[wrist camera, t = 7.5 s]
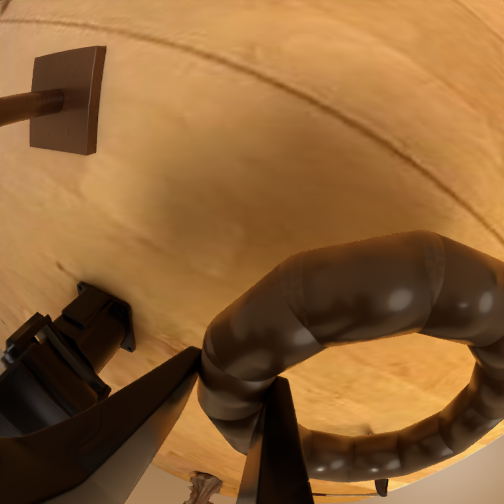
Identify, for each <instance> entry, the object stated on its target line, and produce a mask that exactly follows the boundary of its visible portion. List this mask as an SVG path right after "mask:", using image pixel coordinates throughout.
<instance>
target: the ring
mask: <svg viewBox="0 0 504 504" xmlns="http://www.w3.org/2000/svg"><path fill="white" fill-rule="evenodd" d="M411 333H419V334H423V335H427V336H432V337H436V338H440V339H444V340H448V341H453V342H457V343H461V344H466V345H467V346H468V348H469V349H470V351H471V353H472V354H473V356H474V358H475V359H476V362H475V366H474V370H473V373H472V376H471V380H470V383H469V384H468V385H467V386H466V387H465V388H464V389H463V390H462V391H461V392H460V393H459V394H458V395H457V396H456V397H455V398H454V399H453V400H452V401H451V402H450V403H449V404H448V405H447V406H446V407H445V408H444V409H443V410H442V411H440V412H438V413H436V414H434V415H432V416H430V417H428V418H426V419H424V420H422V421H420V422H418V423H415V424H413V425H411V426H409V427H406V428H404V429H402V430H399V431H393V432H387V433H380V434H373V435H365V436H356V437H349V436H343V435H336V434H331V433H325V432H319V431H314V430H309V429H307V428H305V427H303V426H301V425H300V424H298V428H299V433H300V438H301V443H302V447H303V452H304V457H305V462H306V467H307V472H308V477H309V478H311V479H318V480H326V481H334V482H359V481H369V480H378V479H385V478H392V477H398V476H404V475H408V474H411V473H414V472H416V471H419V470H422V469H424V468H427V467H430V466H432V465H435V464H437V463H440V462H442V461H444V460H447V459H449V458H451V457H453V456H456V455H458V454H460V453H462V452H463V451H465V450H466V449H467V448H469V447H470V446H471V445H473V444H474V443H475V442H477V441H478V440H479V439H480V438H482V437H483V436H484V435H485V434H487V433H488V432H489V431H490V430H491V429H493V428H494V427H495V426H496V425H497V424H498V423H499V422H501V421H502V420H503V419H504V262H503V261H500V260H498V259H496V258H494V257H491V256H489V255H487V254H485V253H482V252H480V251H478V250H475V249H473V248H471V247H468V246H466V245H464V244H461V243H459V242H456V241H454V240H451V239H449V238H446V237H444V236H441V235H439V234H436V233H433V232H430V231H425V230H413V231H407V232H402V233H396V234H391V235H386V236H381V237H376V238H371V239H366V240H360V241H355V242H350V243H345V244H340V245H334V246H329V247H324V248H319V249H313V250H308V251H303V252H299V253H297V254H294V255H292V256H290V257H288V258H287V259H285V260H284V261H283V262H281V263H280V264H279V265H278V266H277V267H275V268H274V269H273V270H272V271H271V272H269V273H268V274H267V275H266V276H265V277H263V278H262V279H261V280H260V281H258V282H257V283H256V284H255V285H254V286H252V287H251V288H250V289H249V290H248V291H246V292H245V293H244V294H243V295H241V296H240V297H239V298H238V299H236V300H235V301H234V302H233V303H232V304H230V305H229V306H228V307H227V308H225V309H224V310H223V311H222V312H220V313H219V314H218V315H217V316H216V317H215V318H214V319H213V320H212V321H211V323H210V324H209V326H208V327H207V330H206V332H205V335H204V340H203V347H202V355H201V362H200V370H199V378H198V386H197V396H198V401H199V404H200V406H201V408H202V409H203V411H204V412H205V413H206V415H207V416H208V417H209V419H210V420H211V421H212V423H213V424H214V425H215V426H216V428H217V429H218V430H219V431H220V433H221V434H222V435H223V436H224V438H225V439H226V440H227V441H228V443H229V444H230V445H231V446H232V447H233V448H234V449H235V450H237V451H238V452H240V453H242V454H244V455H246V456H247V454H248V449H249V444H250V440H251V436H252V433H253V430H254V427H255V425H256V422H257V419H258V416H259V413H260V411H261V408H262V405H263V402H264V400H265V398H266V396H267V393H268V391H269V389H270V387H271V385H272V383H273V381H274V380H275V378H276V376H277V375H278V374H280V373H282V372H284V371H286V370H288V369H290V368H292V367H294V366H296V365H297V364H299V363H301V362H303V361H305V360H307V359H308V358H310V357H312V356H314V355H316V354H317V353H319V352H321V351H323V350H324V349H326V348H328V347H333V346H340V345H347V344H354V343H361V342H367V341H373V340H379V339H385V338H391V337H396V336H401V335H406V334H411Z"/></svg>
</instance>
